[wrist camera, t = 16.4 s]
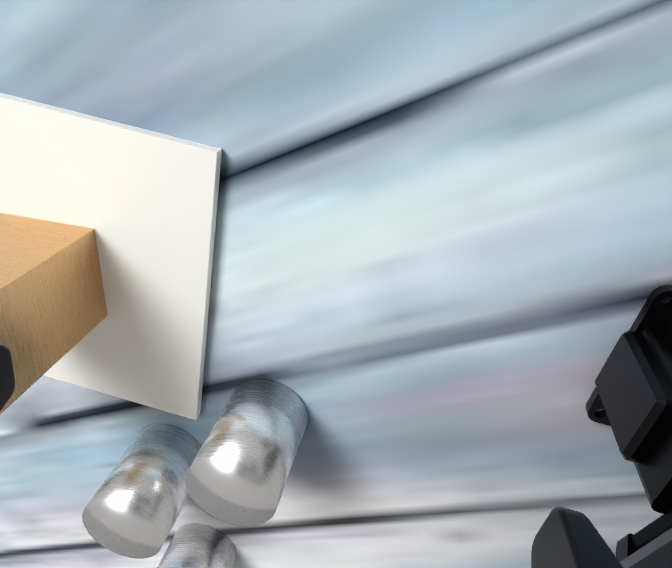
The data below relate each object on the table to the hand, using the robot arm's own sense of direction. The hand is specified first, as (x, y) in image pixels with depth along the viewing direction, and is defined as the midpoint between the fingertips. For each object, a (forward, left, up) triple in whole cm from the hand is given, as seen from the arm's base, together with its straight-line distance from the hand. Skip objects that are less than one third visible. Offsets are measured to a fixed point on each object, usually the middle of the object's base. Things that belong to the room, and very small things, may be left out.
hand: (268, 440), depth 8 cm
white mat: (+12, +7, -13) cm, 19 cm away
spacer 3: (+2, +13, -13) cm, 18 cm away
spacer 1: (+7, +18, -13) cm, 23 cm away
